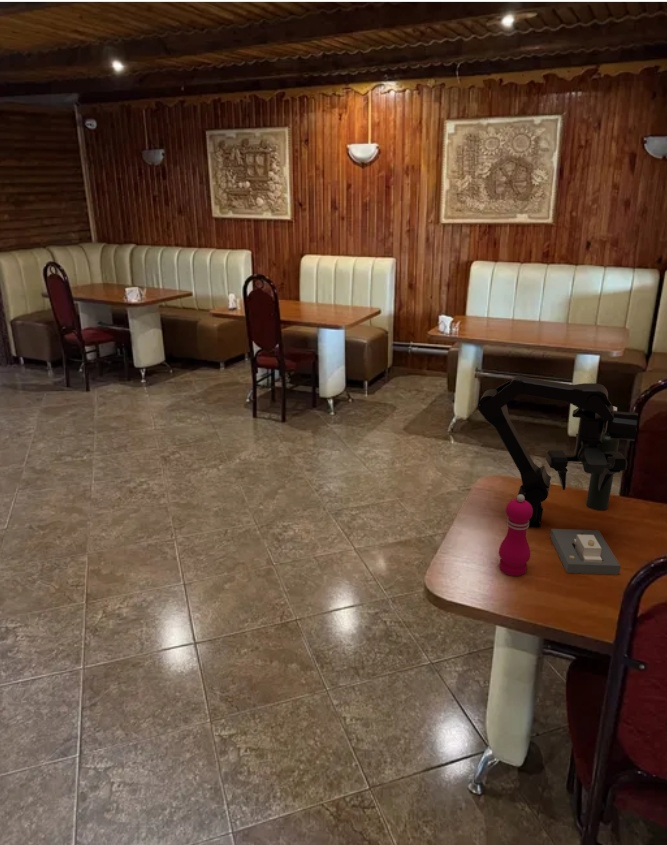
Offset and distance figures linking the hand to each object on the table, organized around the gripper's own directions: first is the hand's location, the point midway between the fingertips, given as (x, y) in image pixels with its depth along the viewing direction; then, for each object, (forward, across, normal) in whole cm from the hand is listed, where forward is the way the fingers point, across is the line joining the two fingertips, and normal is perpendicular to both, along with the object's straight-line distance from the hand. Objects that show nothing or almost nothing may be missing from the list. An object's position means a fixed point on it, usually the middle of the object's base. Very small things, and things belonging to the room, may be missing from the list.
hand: (581, 489), depth 163 cm
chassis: (+12, -2, -12) cm, 17 cm away
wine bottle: (+12, +10, +14) cm, 21 cm away
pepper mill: (+12, -20, -19) cm, 30 cm away
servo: (+12, -2, -14) cm, 19 cm away
